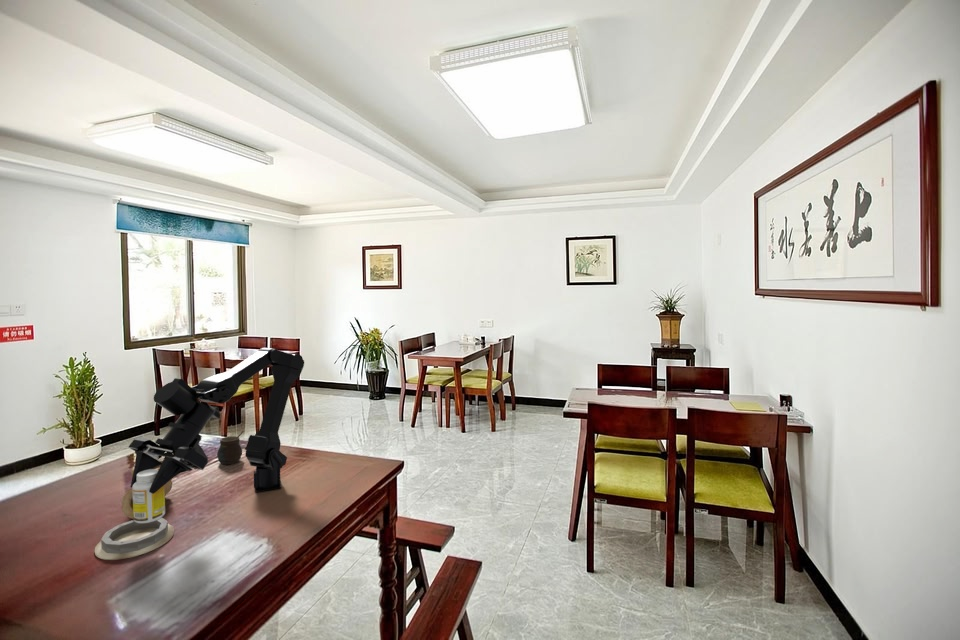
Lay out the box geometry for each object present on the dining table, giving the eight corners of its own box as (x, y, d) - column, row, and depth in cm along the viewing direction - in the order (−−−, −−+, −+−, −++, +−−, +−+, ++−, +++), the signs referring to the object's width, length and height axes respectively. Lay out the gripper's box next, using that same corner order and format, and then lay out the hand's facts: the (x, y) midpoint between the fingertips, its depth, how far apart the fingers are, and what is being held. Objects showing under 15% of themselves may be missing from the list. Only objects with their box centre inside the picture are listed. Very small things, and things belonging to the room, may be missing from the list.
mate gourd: (214, 461, 146) (214, 431, 146) (239, 456, 151) (239, 427, 151) (219, 468, 141) (219, 437, 140) (246, 462, 146) (246, 432, 145)
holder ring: (178, 520, 109) (178, 509, 109) (167, 550, 96) (167, 538, 96) (106, 532, 103) (106, 521, 103) (84, 566, 90) (84, 554, 90)
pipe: (118, 525, 106) (117, 484, 106) (136, 496, 121) (135, 460, 120) (164, 517, 110) (163, 478, 110) (176, 491, 125) (175, 456, 124)
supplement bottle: (165, 509, 101) (164, 465, 100) (164, 520, 96) (163, 474, 96) (135, 515, 98) (133, 470, 97) (132, 527, 93) (130, 479, 93)
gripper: (240, 446, 108) (198, 511, 98) (185, 436, 114) (141, 497, 104) (209, 423, 100) (161, 492, 90) (152, 414, 106) (101, 477, 96)
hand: (141, 490), depth 95 cm, fingers closed on supplement bottle, 5 cm apart
